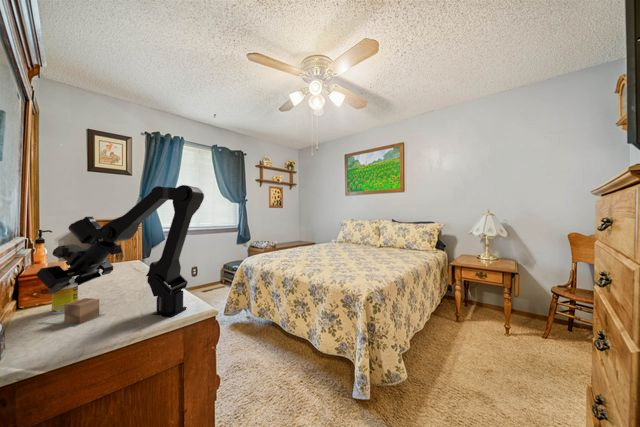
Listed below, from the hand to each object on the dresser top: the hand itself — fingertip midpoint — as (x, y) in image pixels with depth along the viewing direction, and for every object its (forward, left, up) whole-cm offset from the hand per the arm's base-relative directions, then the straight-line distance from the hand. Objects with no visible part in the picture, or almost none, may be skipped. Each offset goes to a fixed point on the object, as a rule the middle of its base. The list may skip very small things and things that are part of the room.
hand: (60, 289), depth 75 cm
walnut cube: (-14, +5, -6) cm, 16 cm away
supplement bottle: (-1, 0, -7) cm, 7 cm away
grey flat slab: (-11, +5, -7) cm, 14 cm away
